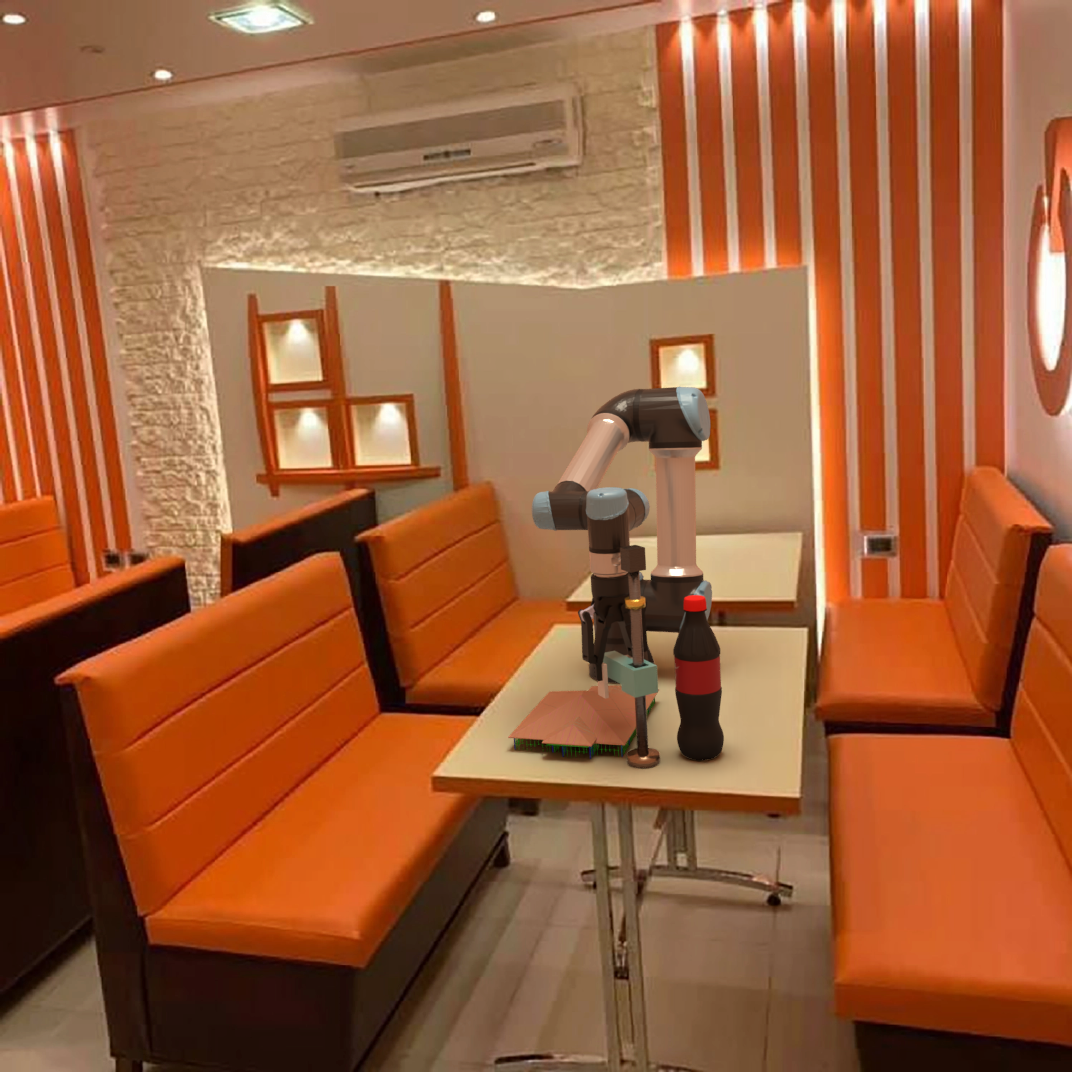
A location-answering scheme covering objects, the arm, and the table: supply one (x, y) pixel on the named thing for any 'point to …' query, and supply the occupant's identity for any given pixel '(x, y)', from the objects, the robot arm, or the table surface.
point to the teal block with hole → (631, 674)
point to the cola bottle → (698, 684)
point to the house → (582, 720)
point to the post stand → (637, 653)
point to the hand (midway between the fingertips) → (617, 692)
